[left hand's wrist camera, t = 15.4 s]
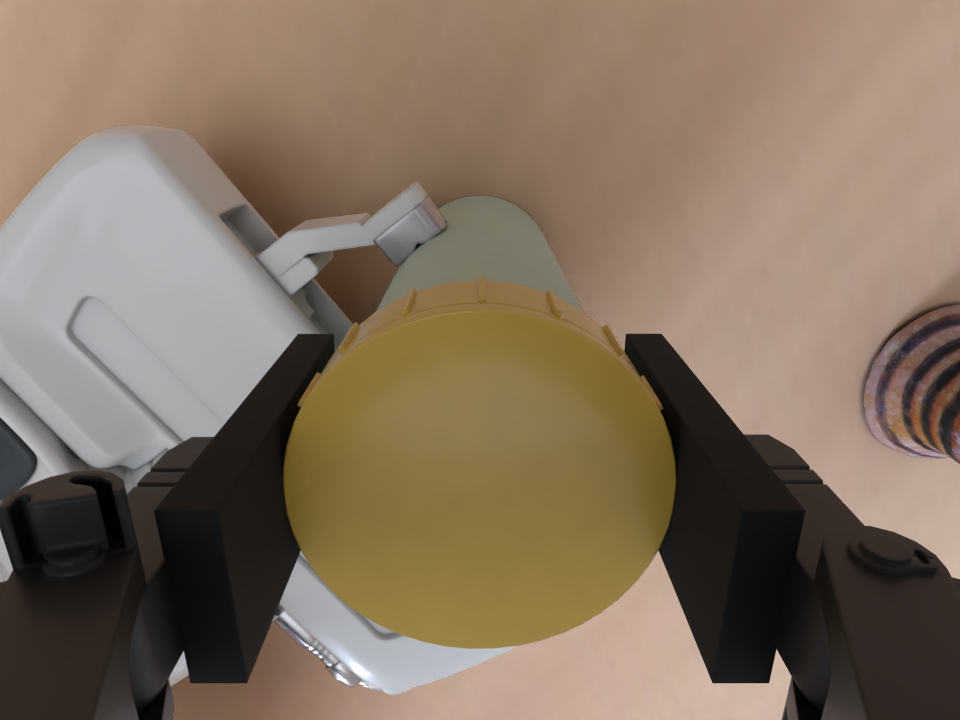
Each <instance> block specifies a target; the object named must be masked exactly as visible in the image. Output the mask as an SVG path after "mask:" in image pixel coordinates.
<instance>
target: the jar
mask: <svg viewBox="0 0 960 720" xmlns="http://www.w3.org/2000/svg"><path fill="white" fill-rule="evenodd" d="M438 209H439V210H440V212H441V213H442V215H443V216H444V217H445V219H446V220H447V223H446V227H445V228H444V229H443V230H442V231H441V232H440V233H439V234H438V235H437V236H435V237H434V238H433V239H431V240H429V241H428V242H426V243H419V244H417V247H416V249H415V251H414V252H413V253H412V254H411V255H410V256H409V257H408V258H406V259H405V260H404V261H402V262H401V264H400V266H399V268H398V270H397V272H396V274H395V276H394V278H393V280H392V281H391V283H390V285H389V287H388V289H387V291H386V293H385V295H384V297H383V299H382V301H381V303H380V305H379V307H378V309H377V311H378V310H380V309H382V308H383V307H385V306H387V305H388V304H390V303H392V302H393V301H395V300H397V299H400V298H402V297H405V296H407V294H408V291H409V289H412V288H415V289H416V291H420V290H423V289H427V288H430V287H434V286H437V285H442V284H449V283H456V282H463V281H478V277H485V281H494V282H503V283H512V284H517V285H521V286H525V287H529V288H533V289H537V290H540V291H542V292H545V293H547V291H548V289H550V290H552V291H554V292H555V295H556V297H558V298H560V299H562V300H564V301H566V302H567V303H569V304H571V305H573V306H575V307H576V308H578V309H580V310H581V311H583V310H582V308H581V306H580V304H579V302H578V300H577V298H576V296H575V294H574V292H573V290H572V289H571V287H570V285H569V283H568V281H567V279H566V277H565V275H564V273H563V271H562V269H561V267H560V265H559V263H558V261H557V260H556V258H555V256H554V254H553V252H552V250H551V248H550V246H549V244H548V242H547V240H546V238H545V236H544V234H543V233H542V231H541V229H540V228H539V226H538V225H537V224H536V222H535V221H534V220H533V219H532V218H531V217H530V216H529V215H528V214H527V213H526V212H525V211H523V210H522V209H521V208H519V207H518V206H516V205H514V204H512V203H511V202H508V201H506V200H503V199H500V198H496V197H491V196H468V197H463V198H459V199H456V200H453V201H451V202H449V203H447V204H445V205H443V206H442V207H440V208H438Z"/></svg>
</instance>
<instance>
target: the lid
mask: <svg viewBox="0 0 960 720" xmlns="http://www.w3.org/2000/svg"><path fill="white" fill-rule="evenodd" d="M298 406H300V407H301V409H300V411H299V413H298V415H297V417H296V419H295V421H294V423H293V426H292V430H291V433H290V436H289V439H288V442H287V446H286V452H285V458H284V464H283V485H284V494H285V501H286V509H287V515H288V518H289V522H290V525H291V528H292V532H293V534H294V536H295V538H296V541H297V543H298V545H299V547H300V549H301V551H302V553H303V555H304V556H305V558H306V559H307V561H308V563H309V564H310V566H311V567H312V569H313V570H314V572H315V573H316V574H317V575H318V576H319V578H320V579H321V580H322V581H323V582H324V583H325V585H326V586H327V587H328V588H329V589H330V590H331V591H332V592H333V593H334V594H336V595H337V596H338V597H339V598H340V599H341V600H342V601H343V602H344V603H345V604H347V605H348V606H350V607H351V608H352V609H354V610H355V611H357V612H358V613H359V614H361V615H362V616H364V617H366V618H367V619H369V620H371V621H373V622H374V623H376V624H378V625H380V626H382V627H384V628H386V629H388V630H391V631H393V632H396V633H398V634H400V635H403V636H406V637H409V638H412V639H415V640H419V641H422V642H425V643H431V644H436V645H441V646H446V647H455V648H467V649H495V648H503V647H512V646H519V645H524V644H528V643H533V642H537V641H541V640H544V639H547V638H550V637H553V636H556V635H559V634H562V633H564V632H566V631H568V630H570V629H573V628H575V627H577V626H579V625H581V624H583V623H585V622H587V621H588V620H590V619H592V618H593V617H595V616H597V615H598V614H600V613H602V612H603V611H604V610H605V609H607V608H608V607H609V606H611V605H612V604H613V603H615V602H616V601H617V600H618V599H620V598H621V597H622V596H623V595H624V594H625V593H626V592H627V591H628V590H629V589H630V588H631V587H632V586H633V585H634V584H635V583H636V582H637V580H638V579H639V578H640V576H641V575H642V574H643V573H644V571H645V570H646V569H647V568H648V566H649V565H650V563H651V561H652V560H653V558H654V556H655V555H656V553H657V551H658V550H659V548H660V546H661V543H662V541H663V539H664V536H665V534H666V532H667V529H668V527H669V523H670V519H671V515H672V511H673V504H674V496H675V488H676V460H675V455H674V450H673V445H672V441H671V437H670V434H669V431H668V429H667V426H666V423H665V420H664V418H663V415H662V414H661V412H660V410H662V409H663V407H662V404H661V403H660V401H659V399H658V398H657V396H656V395H655V393H654V391H653V390H652V388H651V387H650V385H649V383H648V382H647V380H646V379H645V377H644V376H641V377H640V376H639V374H638V372H637V371H636V369H635V367H634V366H633V364H632V362H631V361H630V359H629V357H628V356H627V355H626V353H625V351H624V350H623V348H622V346H621V345H620V343H619V341H618V340H617V338H616V336H615V335H614V333H613V331H612V330H611V328H610V327H609V326H608V325H607V324H606V325H605V326H604V327H602V326H601V325H600V324H599V323H598V322H596V321H595V320H594V319H592V318H591V317H589V316H588V315H587V314H585V313H584V312H583V311H581V310H580V309H578V308H576V307H575V306H573V305H571V304H569V303H567V302H566V301H564V300H562V299H560V298H558V297H556V295H555V292H554V291H552V290H550V289H548V291H547V293H545V292H542V291H540V290H537V289H533V288H529V287H525V286H521V285H517V284H512V283H503V282H494V281H485V277H478V281H463V282H456V283H449V284H442V285H437V286H434V287H430V288H427V289H423V290H420V291H416V289H415V288H412V289H409V291H408V294H407V296H405V297H402V298H400V299H397V300H395V301H393V302H392V303H390V304H388V305H387V306H385V307H383V308H382V309H380V310H378V311H376V312H375V313H373V314H372V315H371V316H370V317H368V318H367V319H366V320H365V321H363V322H362V323H361V324H360V325H359V324H358V323H357V322H355V323H354V324H353V325H352V326H351V327H350V329H349V331H348V332H347V334H346V336H345V337H344V339H343V341H342V342H341V344H340V345H339V347H338V348H337V350H336V351H335V353H334V354H333V355H332V357H331V358H330V360H329V361H328V363H327V364H326V366H325V368H324V369H323V371H322V373H321V374H320V373H318V372H317V373H316V375H315V376H314V378H313V380H312V381H311V383H310V385H309V386H308V388H307V389H306V391H305V393H304V394H303V396H302V397H301V399H300V401H299V403H298Z"/></svg>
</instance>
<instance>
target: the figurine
mask: <svg viewBox="0 0 960 720" xmlns="http://www.w3.org/2000/svg"><path fill="white" fill-rule="evenodd" d="M863 404H864V407H865V412H864V413H865V417H866V420H867V423H868V425H869V428H870V430H871V433H872V435H873V436H874V437H875V438H876V439H877V440H878V441H880V442H881V443H882V444H883V445H885V446H887V447H888V448H891V449H893V450H896V451H898V452H901V453H903V454H906V455H908V456H911V457H915V458H924V459H938V458H948V457H950V458H952V459H953V460H955V461H957V462H958V463H960V305H953V306H948V307H943V308H939V309H937V310H934V311H932V312H929V313H927V314H925V315H924V316H922V317H920V318H918V319H916V320H915V321H913V322H911V323H910V324H909V325H907V326H906V327H905V328H903V329H902V330H901V331H899V332H898V333H896V334H895V335H894V336H893V337H892V338H891V339H890V340H889V341H888V342H887V343H886V345H885V346H884V348H883V349H882V351H881V352H880V354H879V355H878V357H877V358H876V359H875V360H874V362H873V364H872V370H871V373H870V375H869V377H868V380H867V382H866V384H865V395H864V403H863Z"/></svg>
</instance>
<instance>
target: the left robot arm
mask: <svg viewBox="0 0 960 720" xmlns="http://www.w3.org/2000/svg"><path fill="white" fill-rule="evenodd" d="M334 353H335V346H334V334H298V335H297V336H296V337H295V338H294V339H293V341H292V342H291V343H290V344H289V346H288V347H287V348H286V349H285V350H284V352H283V353H282V354H281V355H280V357H279V358H278V359H277V360H276V362H275V363H274V364H273V365H272V366H271V368H270V369H269V370H268V371H267V373H266V374H265V375H264V376H263V377H262V379H261V380H260V381H259V382H258V384H257V385H256V386H255V387H254V389H253V390H252V391H251V392H250V393H249V395H248V396H247V397H246V398H245V400H244V401H243V402H242V403H241V404H240V406H239V407H238V408H237V409H236V411H235V412H234V413H233V414H232V415H231V417H230V418H229V419H228V420H227V422H226V423H225V424H224V425H223V427H222V428H221V429H220V430H219V431H218V433H217V434H216V435H215V436H214V437H191V438H189V439H187V440H186V441H184V442H182V443H180V444H179V445H177V446H175V447H173V448H172V449H170V450H168V451H166V452H165V454H164V455H163V456H162V457H161V458H160V459H159V460H158V461H157V462H156V463H155V464H154V465H153V467H152V468H151V469H150V470H151V471H150V472H147V473H146V474H145V475H144V476H143V477H142V479H141V480H140V481H139V482H138V483H137V487H133V488H132V489H131V490H130V492H129V493H128V494H126V489H125V485H124V481H123V479H121V478H120V477H119V476H117V475H116V474H114V473H111V472H105V471H99V470H90V471H74V472H70V473H65V474H61V475H56V476H52V477H48V478H46V479H43V480H40V481H38V482H35V483H33V484H30V485H27V486H25V487H24V488H22V489H20V490H18V491H17V492H15V493H13V494H11V495H10V496H8V497H6V498H5V499H4V500H3V501H2V502H1V503H0V530H1V534H2V537H3V540H4V543H5V546H6V549H7V552H8V556H9V559H10V562H11V565H12V568H13V571H12V573H11V575H10V577H9V578H8V580H7V581H4V582H0V720H172V718H173V710H174V703H173V696H172V691H171V686H170V682H169V677H170V675H171V673H172V671H173V669H174V668H175V666H176V664H177V662H178V660H179V658H180V657H181V655H182V653H183V651H184V655H185V659H186V664H187V669H188V673H189V678H190V683H247V682H248V679H249V677H250V674H251V672H252V669H253V667H254V665H255V662H256V660H257V657H258V655H259V652H260V650H261V647H262V645H263V642H264V640H265V638H266V635H267V633H268V630H269V628H270V625H271V623H272V620H273V618H274V615H275V613H276V610H277V608H278V606H279V603H280V601H281V598H282V596H283V593H284V591H285V588H286V586H287V583H288V581H289V579H290V576H291V574H292V571H293V569H294V566H295V564H296V561H297V559H298V556H299V554H300V551H301V549H300V547H299V545H298V543H297V541H296V538H295V536H294V534H293V532H292V528H291V525H290V522H289V518H288V515H287V509H286V501H285V494H284V485H283V464H284V458H285V452H286V446H287V442H288V439H289V436H290V433H291V430H292V426H293V423H294V421H295V419H296V417H297V415H298V413H299V411H300V409H301V407H300V406H298V403H299V401H300V399H301V397H302V396H303V394H304V393H305V391H306V389H307V388H308V386H309V385H310V383H311V381H312V380H313V378H314V376H315V375H316V373H317V372H318V373H320V374H321V373H322V371H323V369H324V368H325V366H326V364H327V363H328V361H329V360H330V358H331V357H332V355H333V354H334ZM625 353H626V355H627V356H628V357H629V359H630V361H631V362H632V364H633V366H634V367H635V369H636V371H637V372H638V374H639V376H640V377H641V376H644V377H645V379H646V380H647V382H648V383H649V385H650V387H651V388H652V390H653V391H654V393H655V395H656V396H657V398H658V399H659V401H660V403H661V404H662V407H663V409H662V410H660V412H661V414H662V415H663V418H664V420H665V423H666V426H667V429H668V431H669V434H670V437H671V441H672V445H673V450H674V455H675V460H676V488H675V496H674V504H673V511H672V515H671V519H670V523H669V527H668V529H667V532H666V534H665V536H664V539H663V541H662V543H661V546H660V548H659V553H660V555H661V557H662V560H663V562H664V565H665V567H666V570H667V572H668V575H669V577H670V580H671V582H672V584H673V587H674V589H675V592H676V594H677V597H678V599H679V602H680V604H681V607H682V609H683V612H684V614H685V616H686V619H687V621H688V624H689V626H690V629H691V631H692V634H693V636H694V639H695V641H696V643H697V646H698V648H699V651H700V653H701V656H702V658H703V661H704V663H705V666H706V668H707V671H708V673H709V675H710V678H711V680H712V683H769V681H770V676H771V671H772V667H773V662H774V657H775V653H776V649H777V650H778V652H779V654H780V656H781V658H782V660H783V661H784V663H785V665H786V667H787V669H788V670H789V672H790V674H791V676H792V677H791V682H790V686H789V691H788V695H787V699H786V704H785V708H784V713H783V717H782V720H960V579H956V578H952V577H951V575H950V573H949V571H948V570H947V568H946V567H945V566H944V565H943V563H942V562H941V561H940V560H939V559H938V557H937V556H936V555H935V554H933V553H932V552H930V551H929V550H927V549H926V548H925V547H923V546H922V545H920V544H919V543H917V542H915V541H913V540H911V539H908V538H906V537H904V536H902V535H899V534H897V533H895V532H891V531H887V530H883V529H879V528H876V527H872V526H864V525H863V523H862V522H861V521H860V520H859V519H858V518H857V517H856V516H855V515H854V514H853V513H852V512H851V511H850V509H849V508H848V507H847V506H846V505H845V504H844V503H843V502H842V501H841V500H840V499H839V498H838V497H837V495H836V494H835V493H834V492H833V491H832V490H831V489H830V488H829V487H828V486H827V485H826V484H823V480H822V479H821V478H820V477H819V476H818V475H817V474H816V473H815V472H814V471H813V470H810V466H809V465H808V464H807V463H806V462H805V461H804V460H803V459H802V458H801V457H800V456H799V455H798V453H797V452H796V451H795V450H794V449H792V448H790V447H789V446H787V445H785V444H783V443H782V442H780V441H778V440H776V439H775V438H773V437H771V436H769V435H744V434H743V433H742V432H741V431H740V430H739V428H738V427H737V426H736V425H735V423H734V422H733V421H732V420H731V418H730V417H729V416H728V415H727V414H726V412H725V411H724V410H723V409H722V407H721V406H720V405H719V404H718V403H717V401H716V400H715V399H714V398H713V396H712V395H711V394H710V393H709V392H708V390H707V389H706V388H705V387H704V385H703V384H702V383H701V382H700V380H699V379H698V378H697V377H696V376H695V374H694V373H693V372H692V371H691V369H690V368H689V367H688V366H687V365H686V363H685V362H684V361H683V360H682V358H681V357H680V356H679V355H678V354H677V352H676V351H675V350H674V349H673V347H672V346H671V345H670V344H669V342H668V341H667V340H666V339H665V338H664V336H663V335H662V334H626V341H625Z"/></svg>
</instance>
